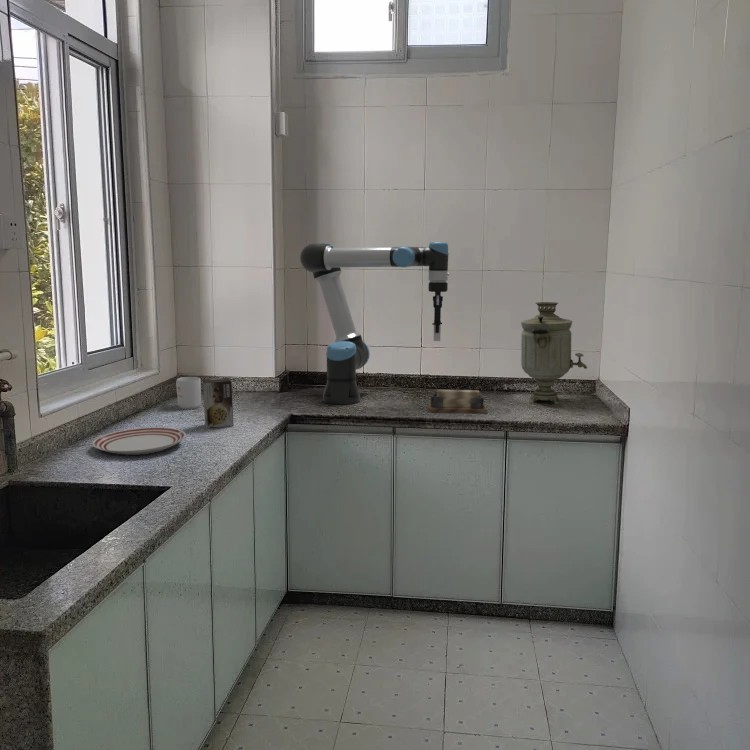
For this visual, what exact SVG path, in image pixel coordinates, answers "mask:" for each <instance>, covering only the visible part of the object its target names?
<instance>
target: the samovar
mask: <svg viewBox="0 0 750 750" xmlns="http://www.w3.org/2000/svg"><path fill="white" fill-rule="evenodd" d="M535 304H536V305H537V311H538V312H539V314H536V315H535V316H534V317H533V318H530V319H525V320H522V321H521V322H520V324H521V327H522V331H521V341H520V342H521V346H520V347H521V349H520V351H521V357H520V359H521V361H520V362H521V364H520V365H521V368H522V370H523V372H524V373H525V374H527V375H528V376H529V377H530V378H531V379H534V380H535V381H536V383H535V385H536V386H538V388H537V389H535V390H534V391H533V392H531V395H530V397H529V398H530V399H531V400H529V401H528V403H529V404H534V403H535V402H536V401H538V400H540V401H550V402H552V403H553V405H554V406H555V405H556V406H559V405H560V404H559V402H558V400H560V398H559V395H558V393H557V392H555V390H553V389H552V387H553V386H554V385H555V380H558V379H561V378H562V377H563V376H564V375H567V373H569V371H570V369H573V368H574V366H577V367H578V368H583V369H584V370H587V369H588V366H587V365H586V364H585V363H584V362H583V361H582V360H581V358H582V357H584V354H583V353H580V352H577V353H575V354H574V355H575V357H578V361H577V362H574V360H573V359H572V331H571V327H572V324H573V320H570V319H568V318H567V319H566V318H563V317H560V315H557V314H555V312H556V310H557V309H556V307H557V305H558V304H559V302H556V301H555V302H553V301H539V302H537V301H536V302H535Z"/></svg>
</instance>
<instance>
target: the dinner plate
mask: <svg viewBox="0 0 750 750" xmlns="http://www.w3.org/2000/svg"><path fill="white" fill-rule="evenodd" d="M186 436H187V433H185V431H184V430H181V429H178V428H173V427H167V426H166V427H165V426H163V427H162V426H161V427H160V426H154V427H152V426H151V427H150V426H149V427H137V428H128V429H124V430H118V431H114V432H113V431H112V432H110V433H107V434H104V435H101V436H99V437H97V438H95V440H93V441H92V444H91V445H92V446H93V448H95V449H97V450H100V451H103V452H106V453H111V454H115V453H116V454H115V455H120V454H125V455H124V456H140V454H143V455H149V453H151V454H155V452H156V453H159V452H162V451H165V450H168V449H169V448H171V447H173V446H176V445H178V444H179V443H180V442H182V441H183V440H185V438H186Z"/></svg>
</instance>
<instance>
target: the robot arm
mask: <svg viewBox="0 0 750 750" xmlns="http://www.w3.org/2000/svg"><path fill="white" fill-rule="evenodd" d="M299 258H300V259H299V260H300V263H301V265H302V267H303V269H305V270H306V271H308V272H310V273H312V274H313V278H314V281H316V282H318V283H319V286H320V289H321V291H322V295H323V299H324V302H325V305H326V308H327V311H328V313H329V314H328V315H329V317H330V321H331V324H332V327H333V331H334V334H335V337H336V339H335V340H334V342H332V343H330V344H328V345H327V346H326V353H325V354H326V385H325V387H324V390H323V394H322V402H324V403H326V404H330V405H350V404H356V403H359V402H360V401H361V394H360V390H359V388H358V385H357V372H356V371H357V370H360V369H362V368H363V367H364V366H365V365H366V364H367V363H368V361H369V359H370V355H371V354H370V348H369V346H368V344H366V343H365V342H364V341H363V338H362V335H361V333H359V332H357V331H356V330H357V329H356V328H355V324H354V321H353V317H352V314H351V311H350V308H349V305H348V301H347V297H346V295H345V292H344V287H343V284H342V282H341V278H340V276H341V273H342V269H341V268H408V267H409V268H410V267H428V281H429V282H428V292H431V293H433V292H434V295H432V303H433V305H432V306H433V309H434V316H433V317H434V318H433V319H434V320H433V323H432V325H433V342H441V328H442V327H441V325H443V322H441V318H442V317H441V316H442V315H441V313H442V312H441V310H442V308H443V300H444V299H443V298H444V296H443V295H441V294H442V293H446V292H448V287H449V285H448V282H447V281H448V276H450V273H449V244H448V243H447V242H444V241H431V242H429V245H428V246H425V247H424V246H393V247H392V246H389V247H388V246H385V247H384V246H381V247H378V246H377V247H335V246H334V245H331V244H329V243H324V242H322V243H308V244H307V245H306V246H304V247H303V248H302V250H301V252H300V256H299Z"/></svg>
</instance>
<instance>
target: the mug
mask: <svg viewBox="0 0 750 750" xmlns="http://www.w3.org/2000/svg"><path fill="white" fill-rule="evenodd" d="M175 384H176V395H177V406H178V407H179V408H180V409H182V410H194V409H199V408H200V407H201V405H202V386H201V385H202V381H201V377H199V376H184V377H178V378H176V380H175Z"/></svg>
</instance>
